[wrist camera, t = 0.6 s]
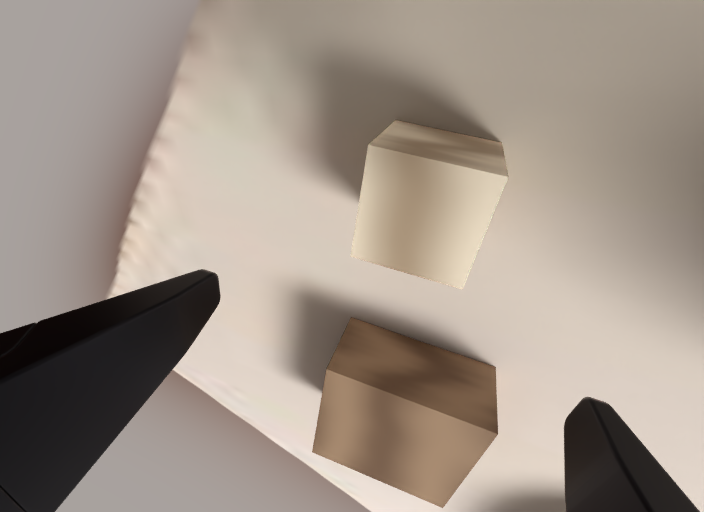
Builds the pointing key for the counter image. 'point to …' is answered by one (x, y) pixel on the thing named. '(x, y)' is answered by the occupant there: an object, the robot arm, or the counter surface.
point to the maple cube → (427, 201)
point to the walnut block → (405, 411)
